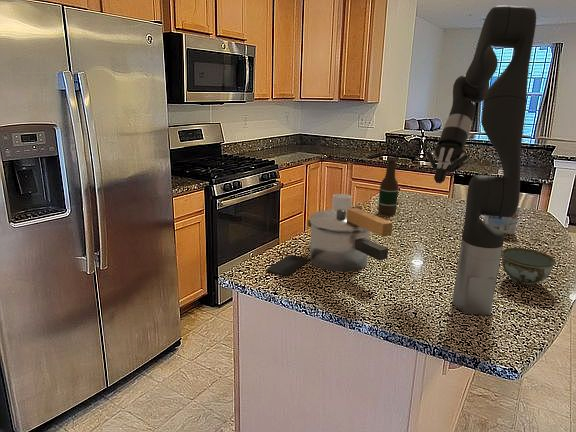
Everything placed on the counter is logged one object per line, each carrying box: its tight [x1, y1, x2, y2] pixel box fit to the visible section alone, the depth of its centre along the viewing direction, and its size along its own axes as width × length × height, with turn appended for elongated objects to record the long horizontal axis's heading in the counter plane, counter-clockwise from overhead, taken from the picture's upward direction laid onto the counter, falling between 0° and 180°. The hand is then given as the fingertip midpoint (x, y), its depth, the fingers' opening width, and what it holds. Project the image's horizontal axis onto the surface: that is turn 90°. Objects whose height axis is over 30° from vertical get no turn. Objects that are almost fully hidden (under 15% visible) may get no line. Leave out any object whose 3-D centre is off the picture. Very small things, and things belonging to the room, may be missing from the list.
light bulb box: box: [483, 206, 520, 235], centre depth 167 cm, size 11×7×11 cm, turn 76°
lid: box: [309, 207, 393, 238], centre depth 126 cm, size 30×19×6 cm, turn 28°
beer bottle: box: [377, 158, 399, 217], centre depth 185 cm, size 8×8×24 cm
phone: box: [266, 254, 310, 277], centre depth 130 cm, size 7×1×15 cm
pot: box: [307, 219, 389, 273], centre depth 131 cm, size 32×18×12 cm, turn 33°
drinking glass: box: [331, 193, 352, 210], centre depth 156 cm, size 7×7×15 cm
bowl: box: [501, 247, 556, 287], centre depth 122 cm, size 14×13×8 cm
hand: (438, 181), depth 127 cm, fingers closed
